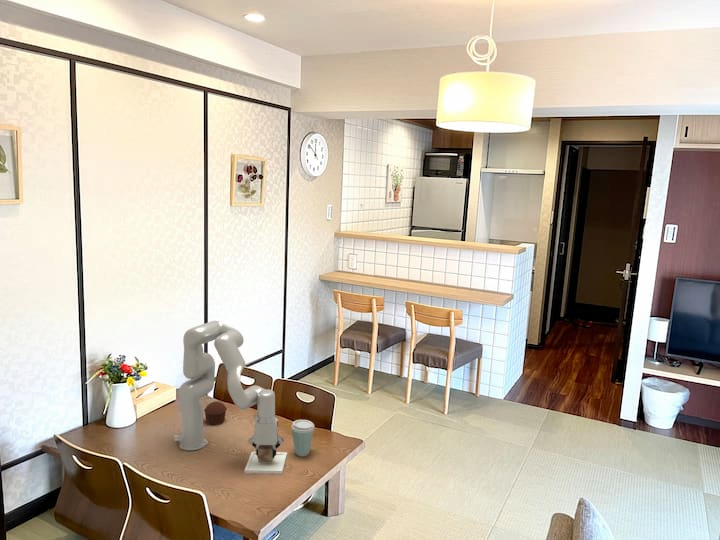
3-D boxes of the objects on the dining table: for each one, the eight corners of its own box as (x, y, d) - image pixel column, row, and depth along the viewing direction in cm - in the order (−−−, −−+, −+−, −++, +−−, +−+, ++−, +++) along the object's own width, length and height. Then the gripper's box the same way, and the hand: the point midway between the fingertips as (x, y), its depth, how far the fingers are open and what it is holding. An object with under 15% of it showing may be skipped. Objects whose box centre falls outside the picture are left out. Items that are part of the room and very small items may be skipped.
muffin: (202, 418, 282) (202, 400, 281) (224, 415, 287) (224, 397, 285) (206, 428, 272) (206, 409, 270) (228, 424, 276) (228, 406, 275)
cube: (258, 462, 236) (258, 449, 235) (260, 455, 242) (260, 442, 241) (272, 462, 236) (272, 449, 235) (274, 455, 242) (274, 443, 241)
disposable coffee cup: (304, 445, 257) (304, 415, 254) (319, 453, 249) (319, 423, 247) (286, 452, 249) (286, 422, 247) (300, 461, 242) (301, 430, 239)
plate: (244, 473, 231) (244, 470, 231) (251, 454, 247) (251, 451, 247) (282, 474, 231) (282, 470, 231) (287, 455, 247) (286, 452, 247)
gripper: (244, 421, 232) (244, 460, 235) (284, 422, 232) (284, 461, 235) (248, 414, 239) (248, 452, 242) (287, 415, 240) (286, 453, 242)
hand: (266, 456), depth 239 cm, fingers closed on cube, 5 cm apart
